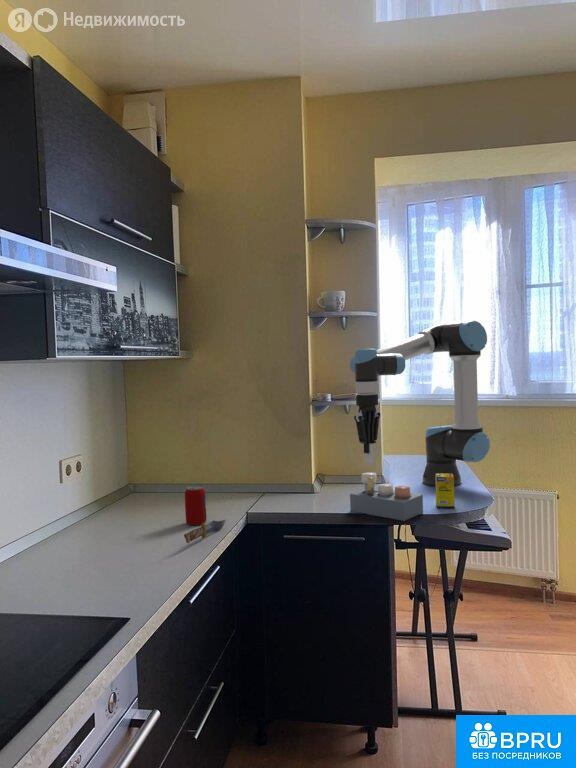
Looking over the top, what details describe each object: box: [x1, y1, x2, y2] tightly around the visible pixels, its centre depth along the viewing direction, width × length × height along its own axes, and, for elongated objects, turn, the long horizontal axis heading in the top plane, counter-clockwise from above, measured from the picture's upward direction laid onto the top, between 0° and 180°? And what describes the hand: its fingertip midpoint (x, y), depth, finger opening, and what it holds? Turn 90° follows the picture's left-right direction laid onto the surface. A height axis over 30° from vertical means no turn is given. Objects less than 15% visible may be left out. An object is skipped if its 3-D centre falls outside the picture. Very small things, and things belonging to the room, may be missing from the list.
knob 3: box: [394, 485, 411, 499], centre depth 192 cm, size 5×5×8 cm
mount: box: [349, 487, 424, 522], centre depth 196 cm, size 12×21×6 cm, turn 48°
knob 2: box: [377, 483, 394, 496], centre depth 196 cm, size 5×5×8 cm
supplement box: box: [435, 474, 456, 509], centre depth 200 cm, size 6×6×11 cm
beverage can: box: [184, 485, 208, 526], centre depth 191 cm, size 7×7×12 cm
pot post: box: [367, 477, 375, 496], centre depth 195 cm, size 2×2×6 cm
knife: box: [183, 518, 227, 544], centre depth 175 cm, size 25×1×5 cm, turn 158°
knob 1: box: [361, 472, 378, 493], centre depth 200 cm, size 5×5×8 cm
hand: (368, 462), depth 200 cm, fingers closed
